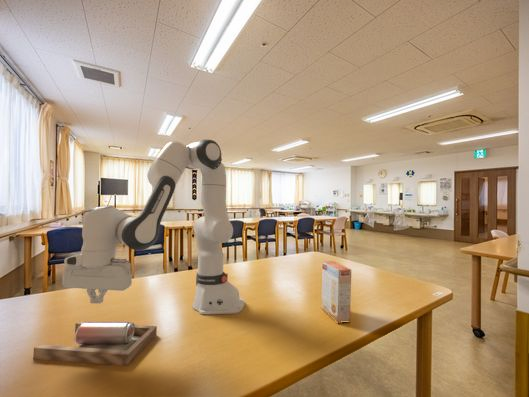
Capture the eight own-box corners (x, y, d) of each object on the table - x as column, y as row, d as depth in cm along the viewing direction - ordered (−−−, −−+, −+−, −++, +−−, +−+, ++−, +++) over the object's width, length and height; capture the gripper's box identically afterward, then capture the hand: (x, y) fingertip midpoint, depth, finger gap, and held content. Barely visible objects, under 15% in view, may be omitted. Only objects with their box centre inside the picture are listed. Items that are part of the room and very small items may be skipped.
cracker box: (351, 323, 91) (352, 269, 92) (336, 324, 90) (338, 269, 90) (333, 307, 105) (334, 260, 105) (320, 308, 104) (322, 260, 104)
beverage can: (87, 318, 76) (135, 318, 77) (87, 336, 76) (134, 336, 77) (73, 329, 70) (125, 328, 71) (73, 348, 70) (125, 348, 71)
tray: (156, 335, 79) (156, 326, 79) (127, 365, 64) (128, 354, 64) (78, 330, 81) (79, 321, 81) (33, 358, 66) (33, 347, 66)
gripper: (137, 257, 76) (135, 300, 75) (76, 254, 77) (74, 296, 77) (124, 261, 69) (122, 309, 69) (58, 258, 71) (56, 305, 70)
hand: (96, 302), depth 73 cm, fingers closed
